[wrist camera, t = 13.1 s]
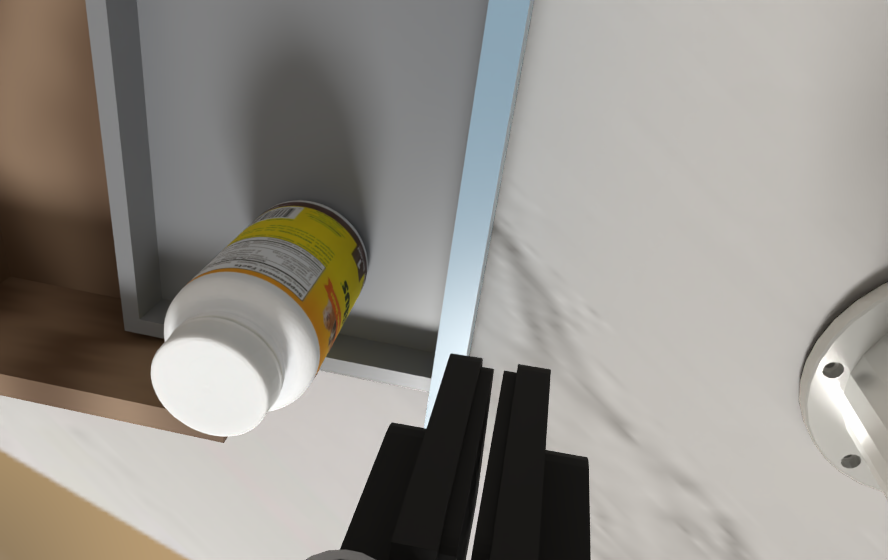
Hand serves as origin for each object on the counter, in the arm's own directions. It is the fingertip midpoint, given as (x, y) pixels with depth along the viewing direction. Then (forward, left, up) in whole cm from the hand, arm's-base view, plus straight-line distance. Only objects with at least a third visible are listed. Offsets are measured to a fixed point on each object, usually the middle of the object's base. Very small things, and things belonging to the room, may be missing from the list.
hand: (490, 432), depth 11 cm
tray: (+9, +1, -19) cm, 21 cm away
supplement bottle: (+9, +7, -17) cm, 20 cm away
